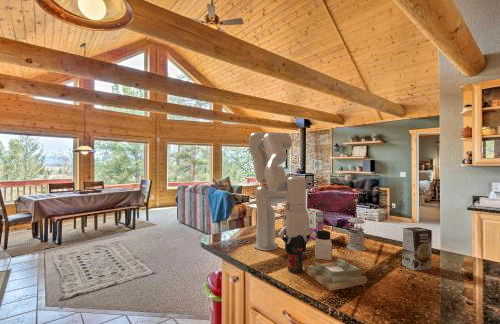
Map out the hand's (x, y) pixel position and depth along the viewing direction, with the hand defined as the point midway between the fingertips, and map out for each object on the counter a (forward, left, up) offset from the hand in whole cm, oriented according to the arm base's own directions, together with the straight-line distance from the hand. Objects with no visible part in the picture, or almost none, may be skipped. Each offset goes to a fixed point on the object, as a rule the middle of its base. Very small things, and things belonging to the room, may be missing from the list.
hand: (295, 251), depth 102 cm
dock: (+10, +11, -8) cm, 17 cm away
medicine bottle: (-9, +20, -8) cm, 23 cm away
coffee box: (+13, +51, -8) cm, 53 cm away
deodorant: (0, 0, -8) cm, 8 cm away
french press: (-14, +44, -8) cm, 47 cm away
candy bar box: (-35, +33, -8) cm, 49 cm away
